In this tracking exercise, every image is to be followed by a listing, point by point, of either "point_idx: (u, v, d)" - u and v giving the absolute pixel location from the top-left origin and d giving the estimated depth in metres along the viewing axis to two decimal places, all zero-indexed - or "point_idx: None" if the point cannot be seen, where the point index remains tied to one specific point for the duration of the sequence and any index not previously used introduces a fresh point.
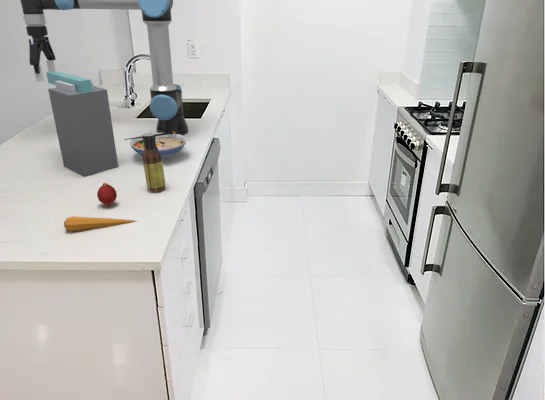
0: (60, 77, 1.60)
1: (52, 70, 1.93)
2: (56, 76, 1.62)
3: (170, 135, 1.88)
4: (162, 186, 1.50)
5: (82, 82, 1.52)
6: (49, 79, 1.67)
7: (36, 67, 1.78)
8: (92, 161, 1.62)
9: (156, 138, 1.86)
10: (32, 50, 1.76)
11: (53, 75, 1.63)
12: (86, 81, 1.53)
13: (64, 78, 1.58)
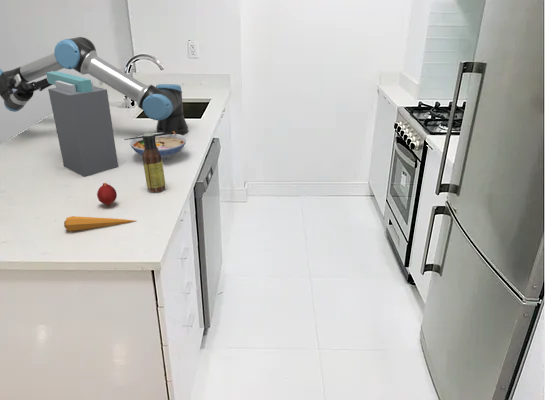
0: (60, 77, 1.60)
1: None
2: (56, 76, 1.62)
3: (170, 135, 1.88)
4: (162, 186, 1.50)
5: (82, 82, 1.52)
6: (49, 79, 1.67)
7: (10, 82, 1.78)
8: (92, 161, 1.62)
9: (156, 138, 1.86)
10: None
11: (53, 75, 1.63)
12: (86, 81, 1.53)
13: (64, 78, 1.58)
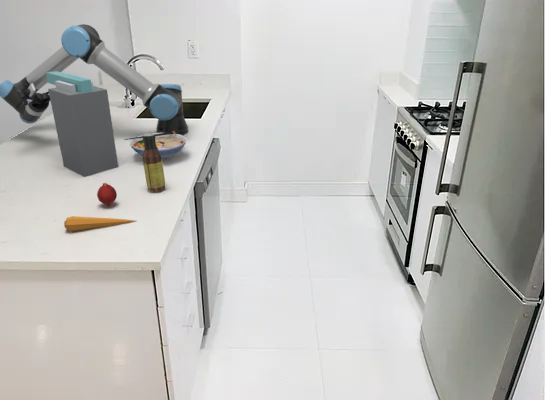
0: (60, 77, 1.60)
1: None
2: (56, 76, 1.62)
3: (170, 135, 1.88)
4: (162, 186, 1.50)
5: (82, 82, 1.52)
6: (49, 79, 1.67)
7: (25, 92, 1.69)
8: (92, 161, 1.62)
9: (156, 138, 1.86)
10: None
11: (53, 75, 1.63)
12: (86, 81, 1.53)
13: (64, 78, 1.58)
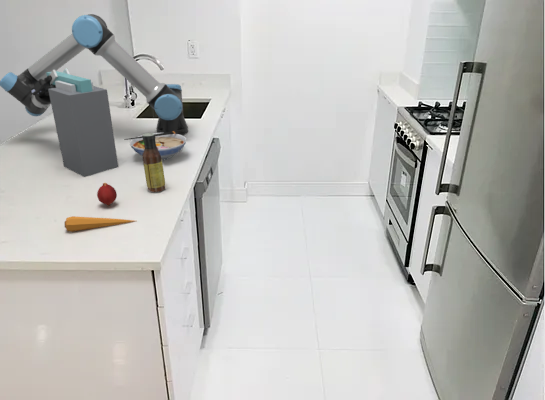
0: (60, 77, 1.60)
1: None
2: None
3: (170, 135, 1.88)
4: (162, 186, 1.50)
5: (82, 82, 1.52)
6: None
7: (46, 79, 1.64)
8: (92, 161, 1.62)
9: (156, 138, 1.86)
10: (36, 87, 1.67)
11: None
12: (86, 81, 1.53)
13: (64, 78, 1.58)
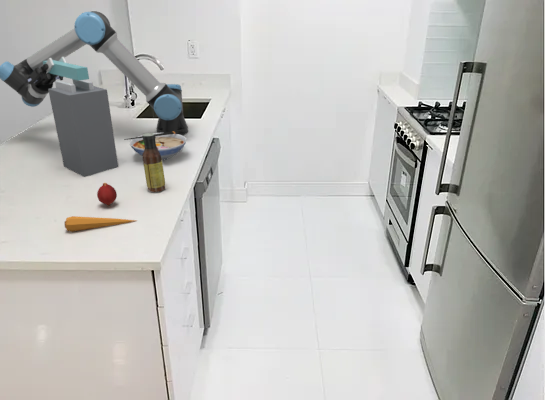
0: (56, 65, 1.59)
1: None
2: None
3: (170, 135, 1.88)
4: (162, 186, 1.50)
5: (78, 70, 1.51)
6: None
7: (42, 67, 1.63)
8: (92, 161, 1.62)
9: (156, 138, 1.86)
10: (32, 76, 1.66)
11: None
12: (83, 69, 1.52)
13: (60, 66, 1.57)
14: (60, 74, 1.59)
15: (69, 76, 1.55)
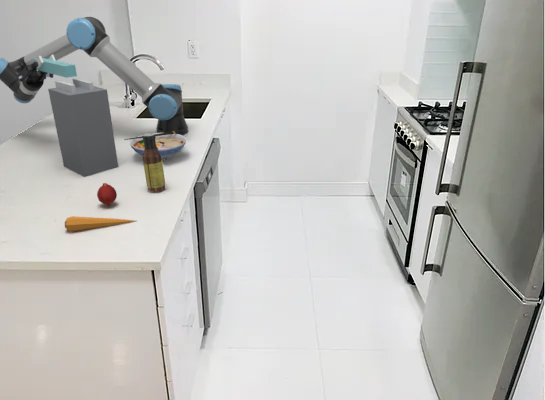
0: (46, 63, 1.64)
1: (50, 59, 1.70)
2: None
3: (170, 135, 1.88)
4: (162, 186, 1.50)
5: (66, 67, 1.56)
6: None
7: (32, 65, 1.68)
8: (92, 161, 1.62)
9: (156, 138, 1.86)
10: (23, 73, 1.72)
11: None
12: (70, 66, 1.57)
13: (49, 64, 1.62)
14: (49, 71, 1.64)
15: (58, 73, 1.60)
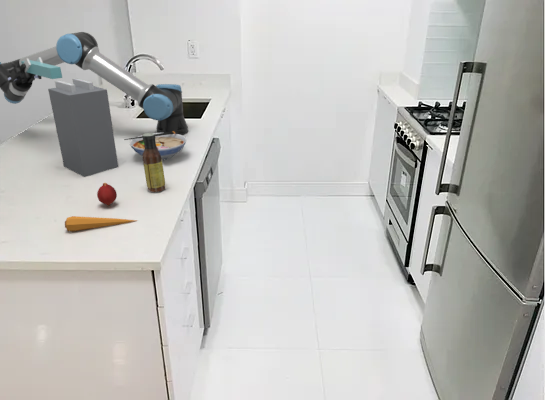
0: (33, 65, 1.72)
1: None
2: None
3: (170, 135, 1.88)
4: (162, 186, 1.50)
5: (52, 69, 1.64)
6: None
7: (20, 67, 1.76)
8: (92, 161, 1.62)
9: (156, 138, 1.86)
10: (12, 75, 1.80)
11: None
12: (56, 68, 1.65)
13: (36, 66, 1.70)
14: (36, 73, 1.72)
15: (44, 75, 1.68)
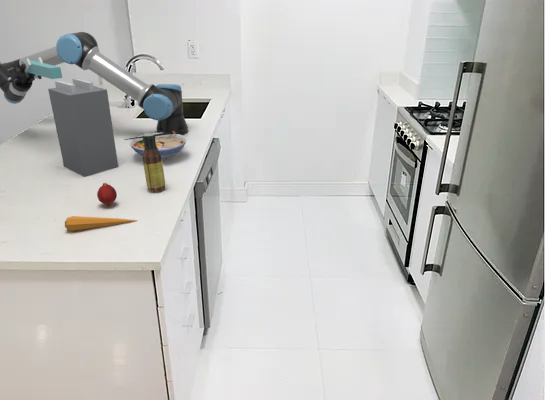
0: (33, 65, 1.72)
1: None
2: None
3: (170, 135, 1.88)
4: (162, 186, 1.50)
5: (52, 69, 1.64)
6: None
7: (20, 67, 1.76)
8: (92, 161, 1.62)
9: (156, 138, 1.86)
10: (12, 75, 1.80)
11: None
12: (56, 68, 1.65)
13: (36, 66, 1.70)
14: (36, 73, 1.72)
15: (44, 75, 1.68)
